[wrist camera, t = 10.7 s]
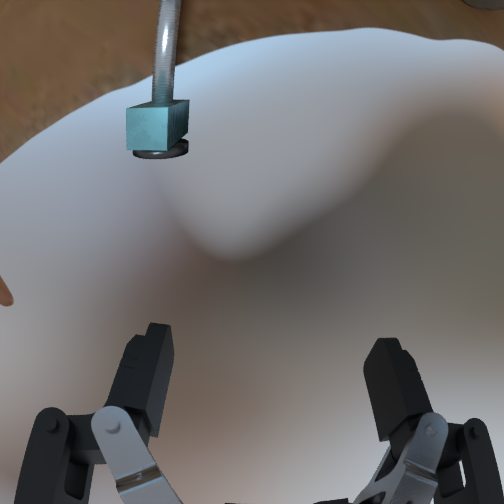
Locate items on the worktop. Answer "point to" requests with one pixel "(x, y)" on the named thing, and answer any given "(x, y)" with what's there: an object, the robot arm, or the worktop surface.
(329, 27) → the worktop surface
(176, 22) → the rod with teal cap
